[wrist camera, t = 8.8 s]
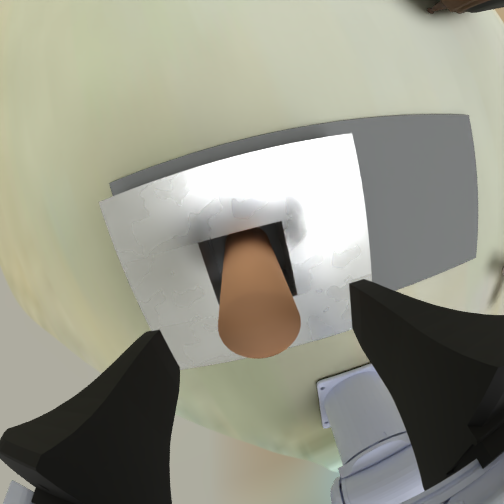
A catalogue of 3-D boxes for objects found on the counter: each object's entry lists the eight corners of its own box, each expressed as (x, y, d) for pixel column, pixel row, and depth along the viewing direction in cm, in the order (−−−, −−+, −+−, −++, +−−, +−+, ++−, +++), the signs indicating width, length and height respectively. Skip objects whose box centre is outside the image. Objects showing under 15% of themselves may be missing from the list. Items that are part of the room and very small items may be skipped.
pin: (273, 260, 19) (306, 347, 10) (231, 271, 19) (231, 364, 10) (263, 219, 18) (293, 281, 9) (219, 230, 18) (206, 302, 9)
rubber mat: (473, 256, 21) (475, 257, 20) (176, 345, 22) (175, 348, 21) (465, 115, 16) (468, 114, 16) (111, 182, 17) (109, 183, 16)
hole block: (351, 294, 20) (373, 322, 17) (181, 337, 21) (173, 370, 17) (327, 137, 16) (351, 133, 13) (125, 191, 17) (98, 201, 13)
